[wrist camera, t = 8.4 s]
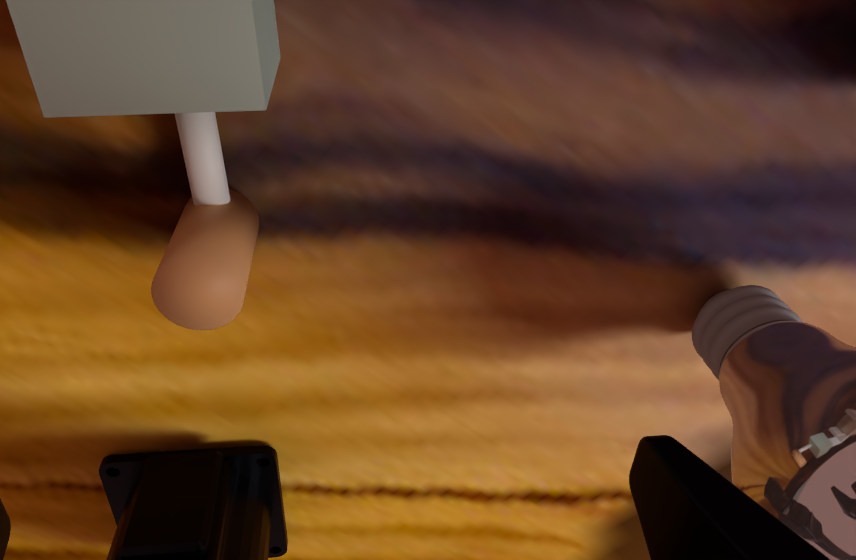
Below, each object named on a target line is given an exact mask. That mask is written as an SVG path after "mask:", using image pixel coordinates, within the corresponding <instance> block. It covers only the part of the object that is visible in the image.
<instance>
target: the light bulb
mask: <svg viewBox="0 0 856 560" xmlns="http://www.w3.org/2000/svg"><path fill="white" fill-rule="evenodd" d="M692 341H693V345H694V347H695V349H696V351H697V353H698V354H699V355H700V356H701V357H702V358H703V360H704V362H705V363H706V365H707V366H708V367H709V368H710V369H711V371H712V372H713V374H714V375H715V377H716V378H717V379H718V380H719V385H720V392H721V395H722V398H723V400H724V402H725V405H726V407H727V409H728V411H729V413H730V415H731V418H732V422H733V436H732V450H731V466H732V481H733V484H734V485H735V486H736V487H737V488H739V489H740V490H741V491H743V492H744V493H745V494H746V495H748V496H749V497H750V498H752V499H753V500H754V501H756V502H757V503H758V504H759V505H761V506H762V507H763V508H765V509H766V510H767V511H768V512H770V513H771V514H772V515H774V516H775V517H776V518H777V519H779V520H780V521H781V522H783V523H784V524H785V525H787V526H788V527H789V528H790V529H792V530H793V531H794V532H796V533H797V534H798V535H799V536H801V537H802V538H803V539H805V540H806V541H807V542H808V543H810V544H811V545H812V546H814V547H815V548H816V549H818V550H819V551H820V552H821V553H823V554H824V555H825V556H827V557H828V558H829V559H830V560H856V347H853V346H850V345H847V344H845V343H844V342H842V341H840V340H838V339H837V338H835V337H834V336H832V335H831V334H830V333H828V332H826V331H825V330H823V329H821V328H819V327H816V326H814V325H811V324H808V323H804V322H802V320H801V319H800V317H799V316H798V315H797V314H796V313H794V312H793V311H792V310H791V309H790V308H789V307H788V305H786V304H785V303H784V302H783V301H781V300H780V298H779V297H778V296H777V295H776V294H775V293H774V292H772V291H771V290H769V289H767V288H764V287H761V286H755V285H749V286H741V287H736V288H733V289H729V290H725V291H722V292H720V293H718V294H715V295H714V296H712V297H711V298H710V299H709V300H708V301H707V302H706V303H705V304H704V306H703V307H702V309H701V310H700V312H699V314H698V316H697V318H696V320H695V322H694V325H693V329H692Z"/></svg>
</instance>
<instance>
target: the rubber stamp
mask: <svg viewBox="0 0 856 560" xmlns="http://www.w3.org/2000/svg"><path fill="white" fill-rule="evenodd" d="M6 2H7V5H8V8H9V11H10V15H11V18H12V21H13V24H14V27H15V30H16V33H17V36H18V39H19V42H20V45H21V48H22V51H23V54H24V57H25V61H26V64H27V67H28V70H29V73H30V76H31V79H32V82H33V85H34V88H35V91H36V94H37V97H38V100H39V103H40V107H41V110H42V113H43V116H44V118H47V117H77V116H108V115H138V114H168V113H174V114H175V118H176V123H177V128H178V132H179V137H180V142H181V146H182V151H183V156H184V161H185V165H186V170H187V175H188V179H189V184H190V189H191V194H192V197H191V198H190V199H189V200H188V202H187V203H186V205H185V207H184V210H183V212H182V214H181V217H180V219H179V221H178V224H177V226H176V228H175V231H174V233H173V235H172V237H171V240H170V242H169V244H168V247H167V249H166V251H165V254H164V256H163V258H162V260H161V263H160V265H159V267H158V270H157V272H156V274H155V277H154V279H153V282H152V287H151V292H152V298H153V301H154V303H155V305H156V307H157V308H158V310H159V311H160V312H161V313H162V314H163V315H164V316H165V317H166V318H167V319H169V320H170V321H172V322H173V323H175V324H177V325H179V326H182V327H185V328H189V329H194V330H211V329H216V328H219V327H222V326H224V325H226V324H228V323H229V322H231V321H232V320H233V319H234V318H236V316H237V315H238V314H239V312H240V311H241V308H242V306H243V302H244V297H245V292H246V287H247V282H248V278H249V273H250V268H251V263H252V258H253V253H254V248H255V243H256V239H257V234H258V229H259V217H258V214H257V211H256V209H255V207H254V206H253V204H252V203H251V202H250V201H249V200H248V199H247V198H246V197H245V196H243V195H242V194H240V193H238V192H236V191H234V190H231V189H228V183H227V178H226V172H225V166H224V161H223V155H222V150H221V144H220V138H219V133H218V127H217V121H216V116H215V112H229V111H260V110H266V109H267V105H268V102H269V98H270V94H271V91H272V87H273V83H274V80H275V76H276V72H277V69H278V65H279V61H280V50H279V42H278V33H277V24H276V16H275V7H274V0H6Z"/></svg>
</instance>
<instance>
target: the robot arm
mask: <svg viewBox="0 0 856 560" xmlns="http://www.w3.org/2000/svg"><path fill="white" fill-rule="evenodd" d="M261 458H266V459H261ZM99 475H100V477H101V480H102V483H103V486H104V489H105V492H106V495H107V498H108V501H109V504H110V506H111V509H112V512H113V515H114V518H115V521H116V524H117V529H116V532H115V535H114V538H113V541H112V545H111V548H110V551H109V554H108V557H107V560H268V558H272V557H279V556H282V555H284V554H285V553H286V552H287V544H288V539H287V531H286V523H285V515H284V507H283V499H282V491H281V482H280V474H279V466H278V458H277V453H276V450H275V449H273V448H272V447H269V446H247V447H231V448H215V449H199V450H183V451H167V452H150V453H134V454H118V455H110V456H107V457H105V458H104V459H103V461H102V463H101V465H100V468H99ZM629 484H630V490H631V493H632V497H633V500H634V503H635V507H636V510H637V514H638V517H639V520H640V524H641V527H642V531H643V534H644V537H645V541H646V544H647V548H648V551H649V554H650V558H651V560H830V559H829V558H828V557H827V556H825V555H824V554H823V553H821V552H820V551H819V550H818V549H816V548H815V547H814V546H812V545H811V544H810V543H808V542H807V541H806V540H805V539H803V538H802V537H801V536H799V535H798V534H797V533H796V532H794V531H793V530H792V529H790V528H789V527H788V526H787V525H785V524H784V523H783V522H781V521H780V520H779V519H777V518H776V517H775V516H774V515H772V514H771V513H770V512H768V511H767V510H766V509H765V508H763V507H762V506H761V505H759V504H758V503H757V502H756V501H754V500H753V499H752V498H750V497H749V496H748V495H746V494H745V493H744V492H743V491H741V490H740V489H739V488H737V487H736V486H735V485H734V484H732V483H731V482H730V481H728V480H727V479H726V478H724V477H723V476H722V475H721V474H719V473H718V472H717V471H716V470H714V469H713V468H712V467H710V466H709V465H708V464H706V463H705V462H704V461H703V460H701V459H700V458H699V457H697V456H696V455H695V454H694V453H692V452H691V451H690V450H688V449H687V448H686V447H685V446H683V445H682V444H681V443H679V442H678V441H677V440H675V439H674V438H672V437H670V436H667V435H660V436H646V437H643V438H642V439H641V440H640V442H639V444H638V448H637V451H636V454H635V457H634V461H633V464H632V467H631V470H630V474H629ZM10 530H11V524H10V519H9V516H8V514H7V512H6V510H5V508H4V506H3V504H2V502H1V499H0V560H3V558H4V555H5V551H6V548H7V544H8V541H9V537H10Z"/></svg>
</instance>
